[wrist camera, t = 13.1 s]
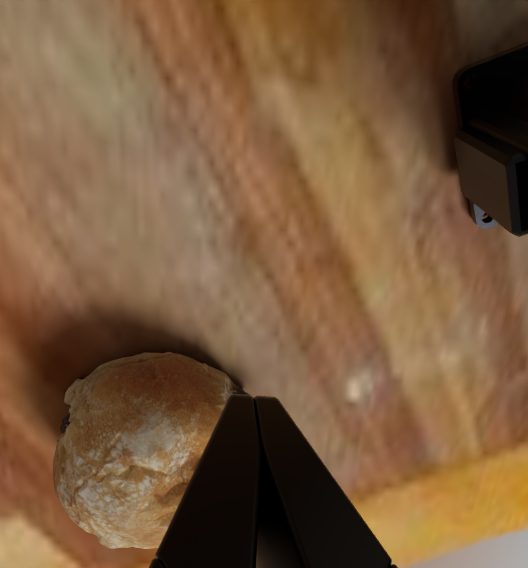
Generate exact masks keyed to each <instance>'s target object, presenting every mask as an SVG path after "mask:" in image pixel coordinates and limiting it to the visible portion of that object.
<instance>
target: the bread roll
mask: <svg viewBox="0 0 528 568" xmlns="http://www.w3.org/2000/svg"><path fill="white" fill-rule="evenodd" d="M232 394H241V395H250V394H248V393H246V392H244V391H243V390H242V389H241V388H240V387H238V386H236V385H235V384H234V383H233V382H232V381H231V379H230V378H229V377H228V376H227V375H226V373H224V372H222V371H220V370H218V369H215V368H213V367H210V366H207V364H205V363H204V364H201V363H199V362H198V361H196V360H194V359H193V358H191V357H188V356H184V355H181V354H175V353H172V352H166V353H148V352H143V353H142V354H138V355H135V356H131V357H124V358H120V359H116V360H113V361H110V362H107V363H104V364H101V365H100V366H99V367H97V368H96V369H95V370H94V371H93V372H92V373H91V374H90V375H89V376H87V377H86V378H85V379H82V380H81V379H76V380H75V381H74V383H73V384H72V385H71V386H70V387H69V388H68V389H67V391H66V393H65V398H64V403H66V404H68V405H70V406H71V407H70V409H69V415H67V416H66V417H65V418H64V419H63V421H62V425H61V427H60V430H61V432H62V434H61V435H60V438H59V440H58V442H57V447H56V451H55V456H54V464H53V480H54V487H55V492H56V494H57V497H58V499H59V501H60V503H61V504H62V506H63V507H64V509H65V510H66V512H67V513H68V515H69V517H70V518H71V519H72V520H73V521H74V522H75V523H76V524H77V525H78V526H79V527H81V528H82V529H83V530H85V531H86V532H89V533H92V534H94V535H96V536H97V538H98V541H99V542H100V544H102V545H104V546H106V547H108V548H110V549H113V548H120V547H132V546H133V547H136V548H143V549H149V548H159V546H160V544H161V541H162V539H163V537H164V535H165V533H166V531H167V529H168V526H169V524H170V522H171V520H172V518H173V516H174V514H175V511H176V509H177V507H178V505H179V503H180V501H181V499H182V497H183V494H184V492H185V490H186V488H187V486H188V484H189V482H190V479H191V477H192V475H193V473H194V471H195V469H196V467H197V464H198V462H199V460H200V458H201V456H202V454H203V452H204V449H205V447H206V445H207V443H208V441H209V439H210V437H211V434H212V432H213V430H214V428H215V426H216V424H217V422H218V419H219V417H220V415H221V413H222V411H223V409H224V407H225V404H226V402H227V400H228V398H229V396H230V395H232Z"/></svg>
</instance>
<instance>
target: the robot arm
mask: <svg viewBox="0 0 528 568" xmlns="http://www.w3.org/2000/svg"><path fill="white" fill-rule="evenodd" d="M470 75H472V76H473V78H474V79H473V83H472V85H471V86H470V87H468V88H465V86H464V83H465V80H466V78H467V77H469V76H470ZM453 90H454V97H455V104H456V111H457V118H458V125H459V129H457V131H456V133H455V135H454V137H453V138H454V145H455V152H456V158H457V165H458V172H459V178H460V185H461V192H462V194H463V195H464V196H465V197H467V198H468V199H469V202H470V209H471V216H472V220H473V222H474V223H476V224H477V225H478V226H479V227H480V228H490V227H493V226H496V225H499V224H500V225H501V226H503V227H504V228H505V229H506V230H508V231H509V232H510V233H512V234H514V235H516V236H518V237H520V236H523V235H526V234H528V43H525V44H522V45H520V46H517V47H515V48H512V49H510V50H507V51H504V52H502V53H499V54H497V55H494V56H491V57H489V58H486V59H484V60H481V61H478V62H476V63H473V64H471V65H468V66H466V67H464V68H462V69H460V70H459V71H458V72H457V74H456V75H455V77H454V80H453ZM485 213H486V214H488V217H487V218H485V219H482V216H483V215H484V214H485ZM391 564H392V559H391V558H390V557H389V555H388V554H387V552H386V551H385V549H384V548H383V547H382V545H381V544H380V542H379V541H378V540H377V538H376V537H375V535H374V534H373V533H372V531H371V530H370V528H369V527H368V525H367V524H366V523H365V521H364V520H363V518H362V517H361V516H360V514H359V513H358V511H357V510H356V509H355V507H354V506H353V504H352V503H351V501H350V500H349V499H348V497H347V496H346V494H345V493H344V492H343V490H342V489H341V487H340V486H339V485H338V483H337V482H336V480H335V479H334V477H333V476H332V475H331V473H330V472H329V470H328V469H327V468H326V466H325V465H324V463H323V462H322V461H321V459H320V458H319V456H318V455H317V453H316V452H315V451H314V449H313V448H312V446H311V445H310V444H309V442H308V441H307V439H306V438H305V436H304V435H303V434H302V432H301V431H300V429H299V428H298V427H297V425H296V424H295V422H294V421H293V420H292V418H291V417H290V415H289V414H288V412H287V411H286V410H285V408H284V407H283V405H282V404H281V403H280V401H279V400H278V399H277V398H275V397H267V396H256V397H254V399H253V397H252V396H251V395H241V394H232V395H230V396H229V398H228V400H227V402H226V404H225V407H224V409H223V411H222V413H221V415H220V417H219V419H218V422H217V424H216V426H215V428H214V430H213V432H212V434H211V437H210V439H209V441H208V443H207V445H206V447H205V449H204V452H203V454H202V456H201V458H200V460H199V462H198V464H197V467H196V469H195V471H194V473H193V475H192V477H191V479H190V482H189V484H188V486H187V488H186V490H185V492H184V494H183V497H182V499H181V501H180V503H179V505H178V507H177V509H176V511H175V514H174V516H173V518H172V520H171V522H170V524H169V526H168V529H167V531H166V533H165V535H164V537H163V539H162V541H161V544H160V546H159V548H158V550H157V552H156V554H155V559H153V560H152V562H151V564H150V566H149V568H397V566H396V565H394V564H393V565H391Z"/></svg>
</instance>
